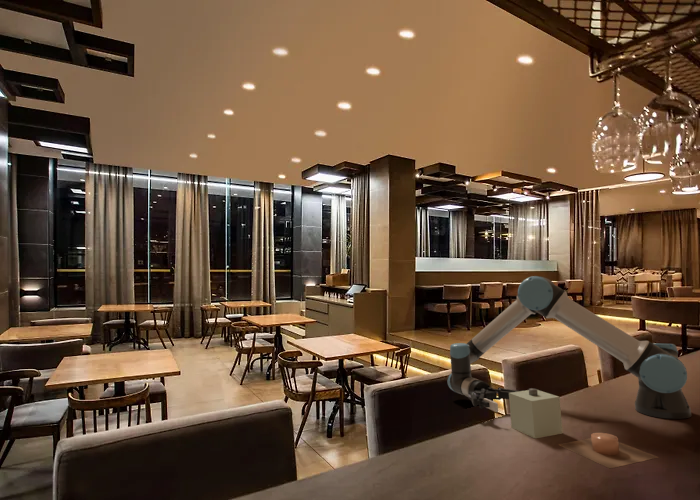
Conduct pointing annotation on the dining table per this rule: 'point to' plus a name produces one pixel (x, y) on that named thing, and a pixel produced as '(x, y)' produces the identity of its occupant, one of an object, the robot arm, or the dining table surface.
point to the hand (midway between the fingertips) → (514, 404)
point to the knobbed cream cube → (535, 413)
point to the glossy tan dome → (605, 443)
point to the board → (610, 461)
